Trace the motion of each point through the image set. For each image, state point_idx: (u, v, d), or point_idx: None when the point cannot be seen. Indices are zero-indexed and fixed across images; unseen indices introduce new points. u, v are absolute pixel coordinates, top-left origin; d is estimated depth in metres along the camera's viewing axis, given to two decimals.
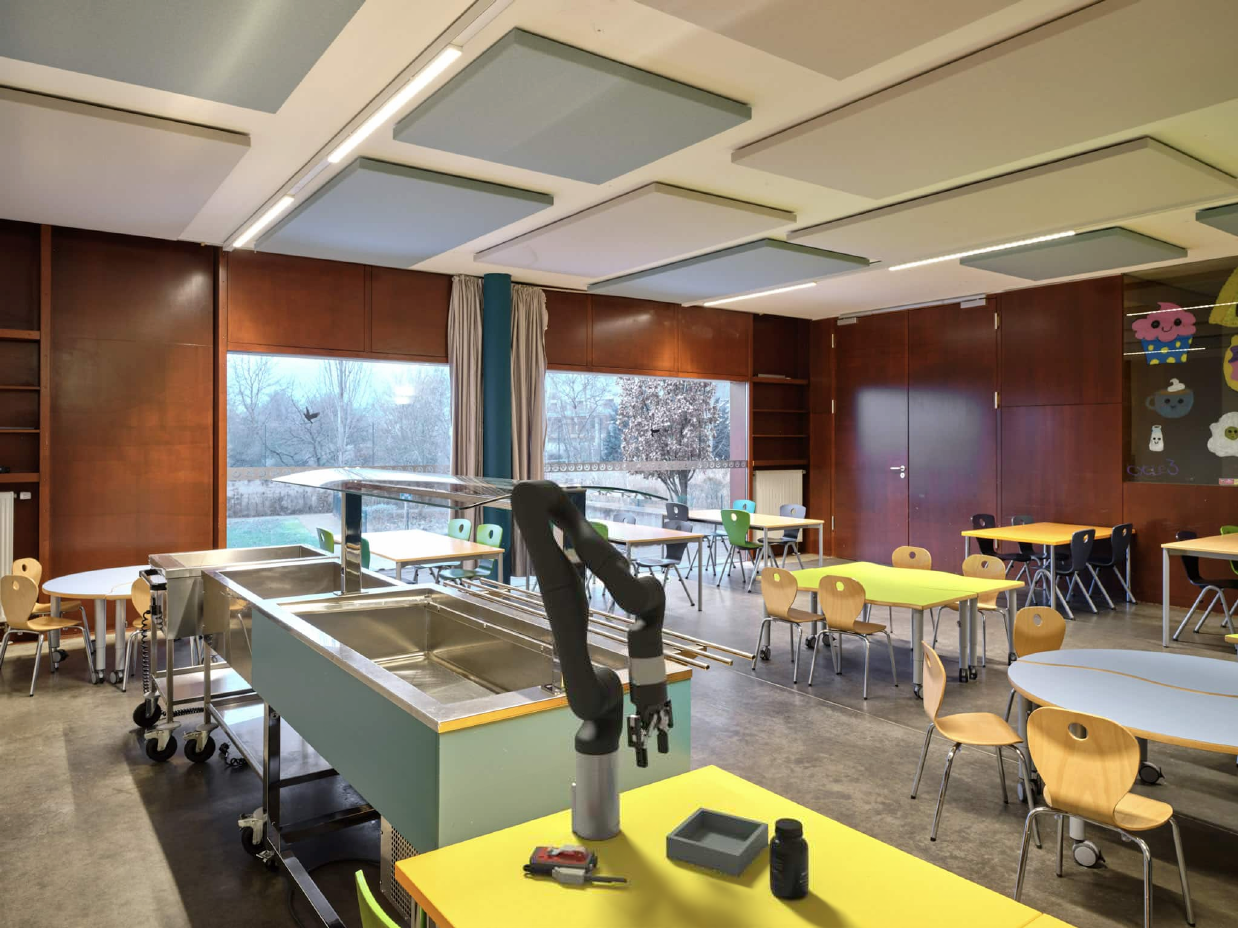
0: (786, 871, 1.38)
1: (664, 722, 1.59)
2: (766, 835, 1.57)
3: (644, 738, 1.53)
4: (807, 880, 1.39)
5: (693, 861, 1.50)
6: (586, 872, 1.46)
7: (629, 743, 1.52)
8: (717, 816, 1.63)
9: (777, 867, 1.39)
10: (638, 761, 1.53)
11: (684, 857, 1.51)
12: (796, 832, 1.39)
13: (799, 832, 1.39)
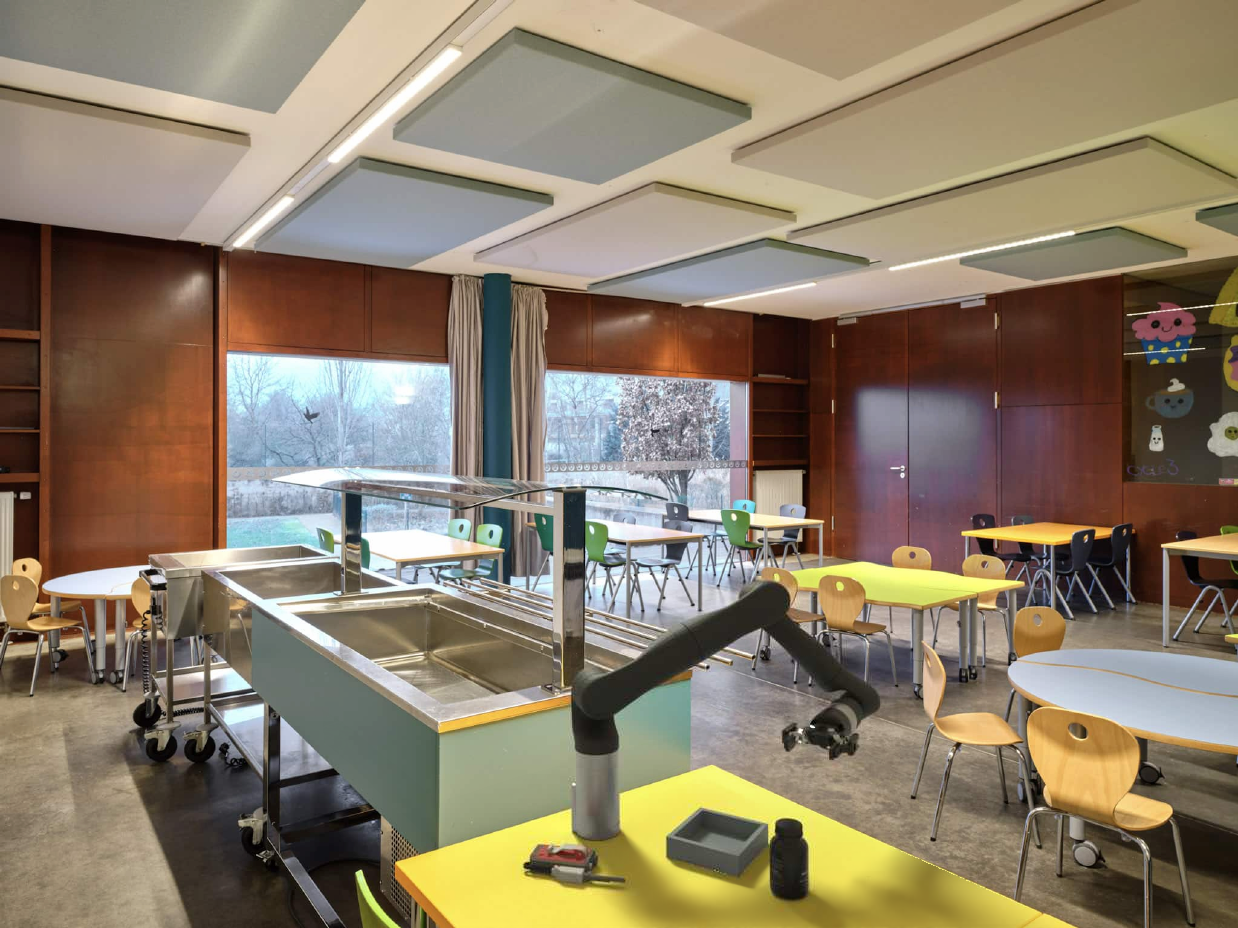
0: (786, 871, 1.38)
1: None
2: (766, 835, 1.57)
3: None
4: (807, 880, 1.39)
5: (693, 861, 1.50)
6: (585, 871, 1.46)
7: (853, 744, 1.51)
8: (717, 816, 1.63)
9: (777, 867, 1.39)
10: None
11: (684, 857, 1.51)
12: (796, 832, 1.39)
13: (799, 832, 1.39)
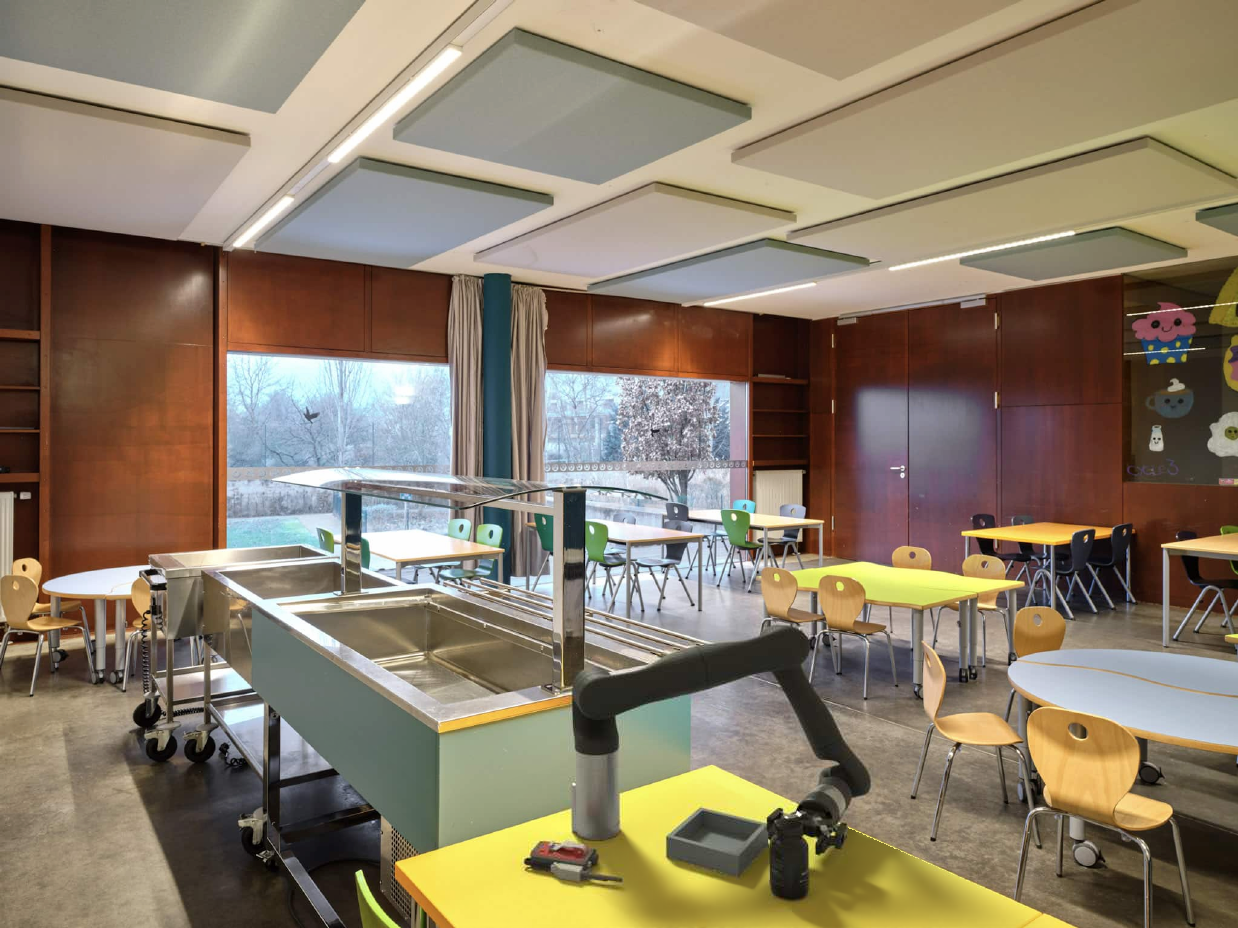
0: (786, 871, 1.38)
1: None
2: (766, 835, 1.57)
3: None
4: (807, 880, 1.39)
5: (693, 861, 1.50)
6: (584, 869, 1.46)
7: (841, 836, 1.44)
8: (717, 816, 1.63)
9: (777, 867, 1.39)
10: None
11: (684, 857, 1.51)
12: (796, 832, 1.39)
13: (799, 832, 1.39)
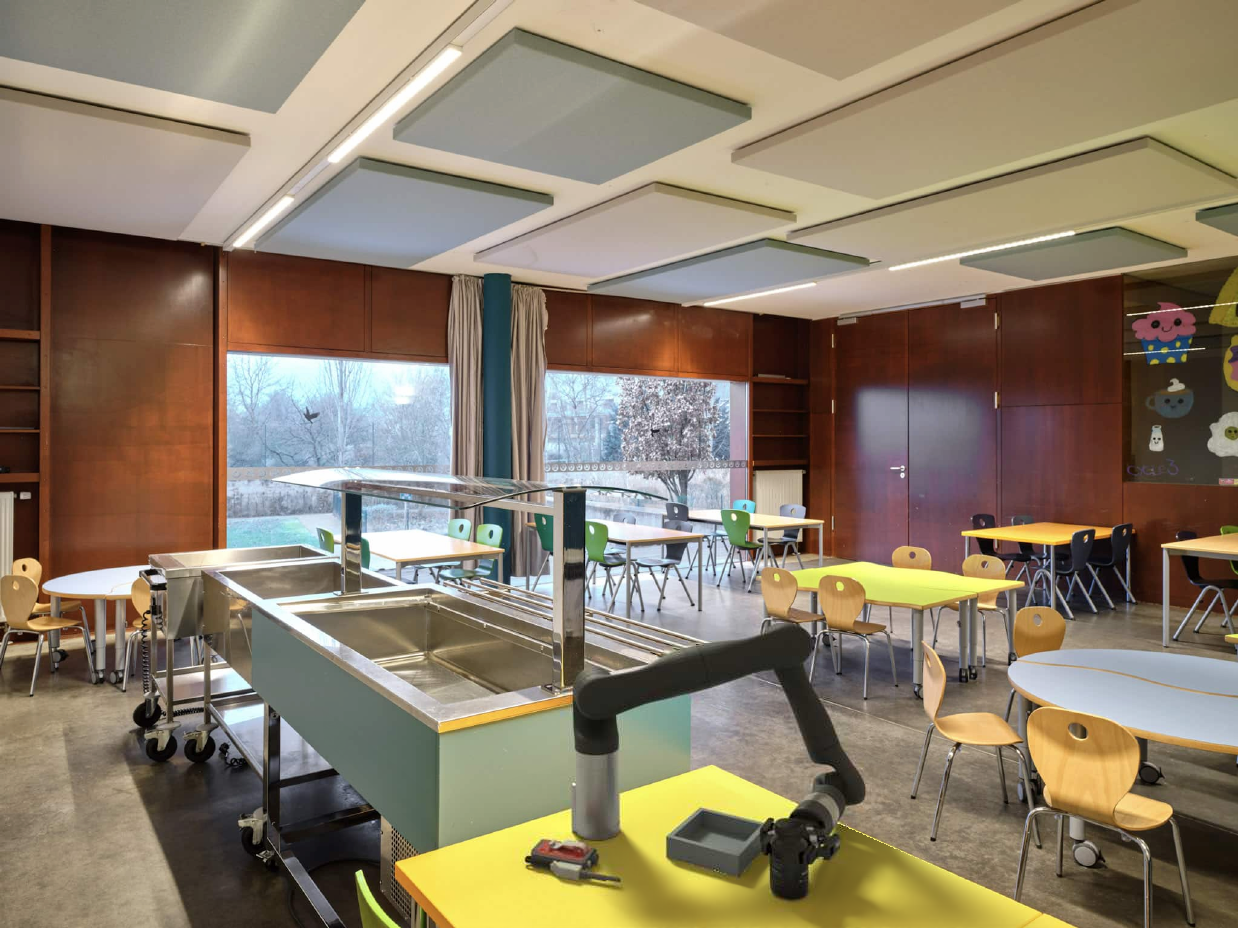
0: (786, 870, 1.38)
1: None
2: None
3: None
4: (807, 880, 1.39)
5: (693, 861, 1.50)
6: (583, 868, 1.47)
7: (830, 847, 1.40)
8: (717, 816, 1.63)
9: (777, 867, 1.39)
10: None
11: (684, 857, 1.51)
12: (796, 832, 1.39)
13: (799, 832, 1.39)
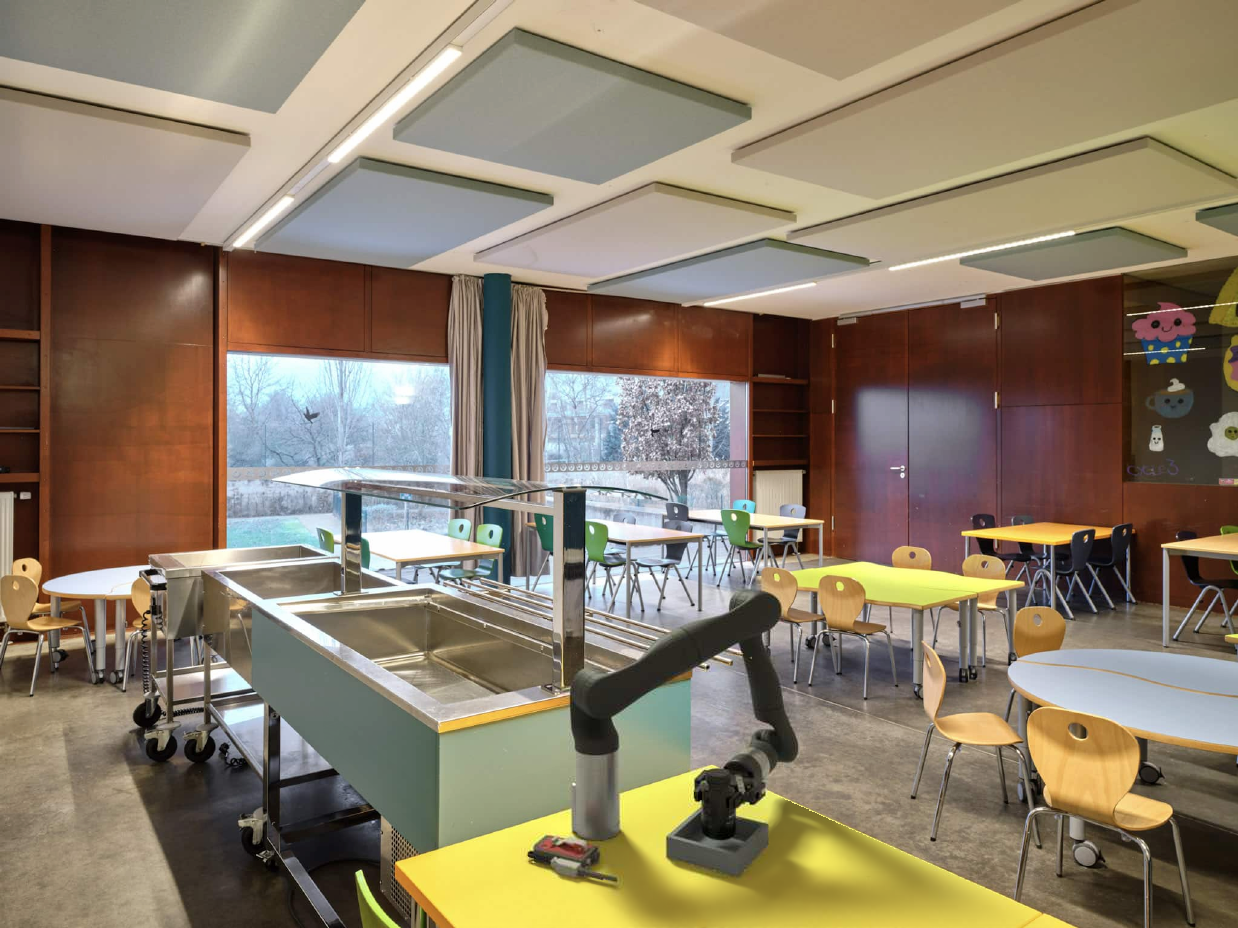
0: (715, 814, 1.53)
1: None
2: (766, 835, 1.57)
3: None
4: (734, 822, 1.54)
5: (693, 861, 1.50)
6: (582, 866, 1.48)
7: (755, 793, 1.55)
8: None
9: (706, 811, 1.54)
10: None
11: (684, 857, 1.51)
12: (723, 779, 1.54)
13: (726, 780, 1.54)
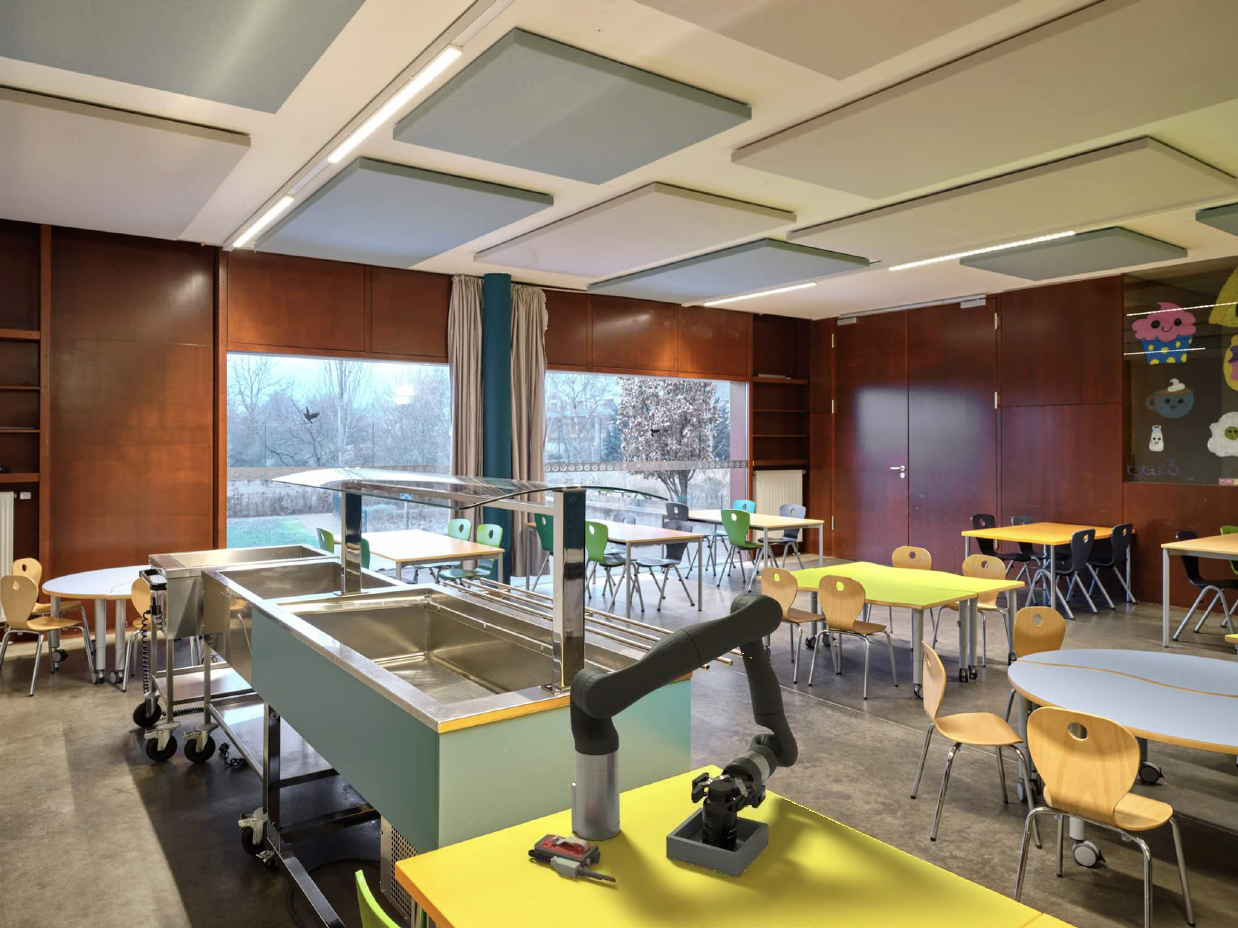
0: (716, 827, 1.52)
1: None
2: (766, 835, 1.57)
3: None
4: (735, 837, 1.54)
5: (693, 861, 1.50)
6: (581, 866, 1.48)
7: (758, 796, 1.55)
8: None
9: (707, 824, 1.53)
10: None
11: (684, 857, 1.51)
12: (726, 794, 1.53)
13: (729, 794, 1.54)
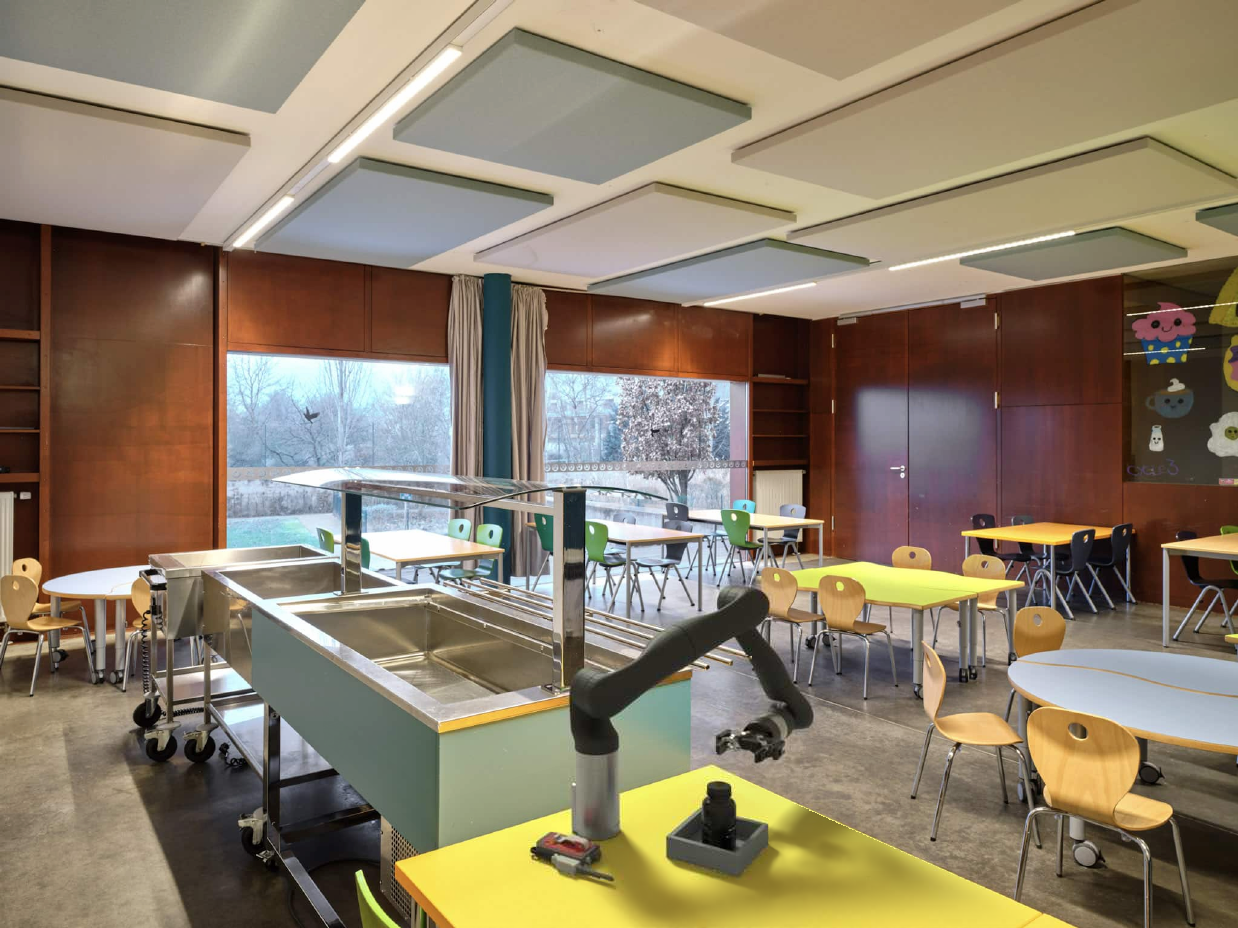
0: (715, 827, 1.53)
1: None
2: (766, 835, 1.57)
3: None
4: (734, 836, 1.54)
5: (693, 861, 1.50)
6: (581, 864, 1.48)
7: (778, 749, 1.66)
8: None
9: (706, 824, 1.54)
10: None
11: (684, 857, 1.51)
12: (724, 792, 1.54)
13: (727, 793, 1.54)
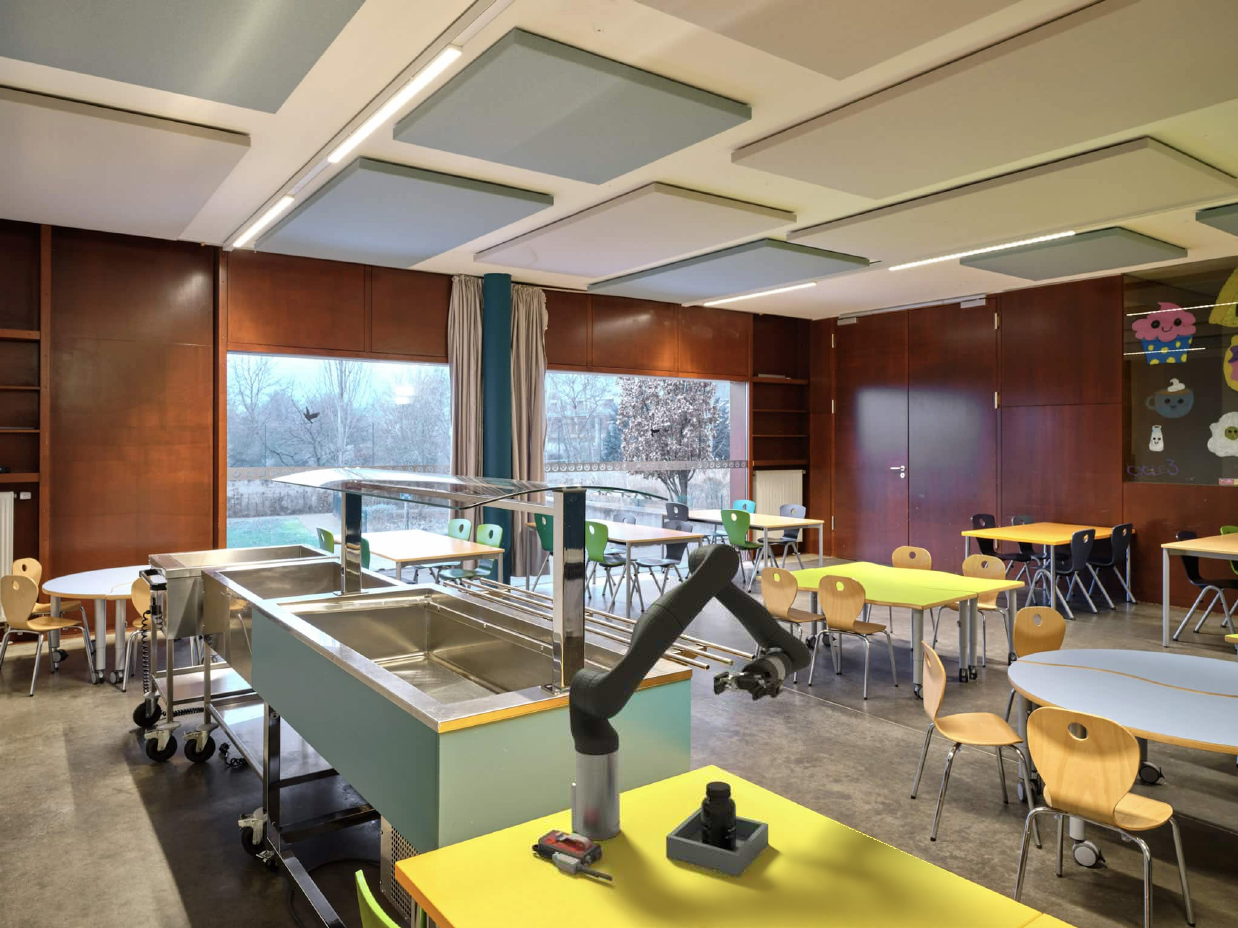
0: (714, 827, 1.53)
1: None
2: (766, 835, 1.57)
3: None
4: (734, 836, 1.54)
5: (693, 861, 1.50)
6: (581, 863, 1.49)
7: (776, 687, 1.66)
8: None
9: (706, 824, 1.54)
10: None
11: (684, 857, 1.51)
12: (723, 793, 1.54)
13: (726, 793, 1.54)
